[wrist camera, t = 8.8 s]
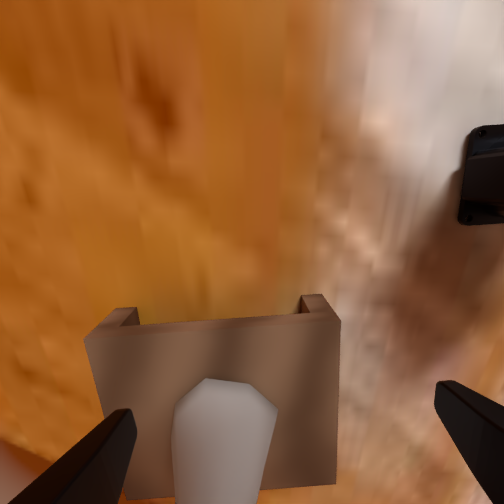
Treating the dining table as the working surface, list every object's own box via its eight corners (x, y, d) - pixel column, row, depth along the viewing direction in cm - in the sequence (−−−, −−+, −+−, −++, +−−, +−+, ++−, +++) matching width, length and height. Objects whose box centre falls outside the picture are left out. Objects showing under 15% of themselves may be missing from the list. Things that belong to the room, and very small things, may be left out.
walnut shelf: (321, 293, 19) (340, 320, 16) (320, 434, 23) (336, 484, 19) (115, 308, 19) (83, 339, 15) (146, 447, 23) (126, 500, 19)
